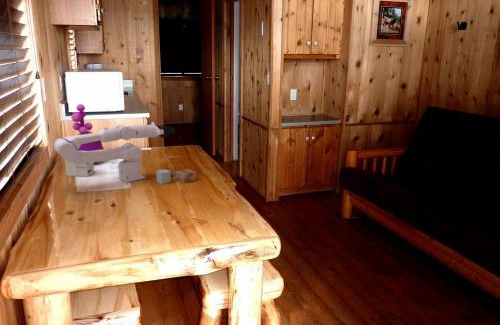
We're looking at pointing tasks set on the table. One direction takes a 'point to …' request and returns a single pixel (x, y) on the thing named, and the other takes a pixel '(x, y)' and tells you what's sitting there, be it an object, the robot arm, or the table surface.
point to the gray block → (163, 176)
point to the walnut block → (185, 175)
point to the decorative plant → (84, 130)
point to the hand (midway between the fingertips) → (170, 129)
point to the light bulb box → (79, 169)
